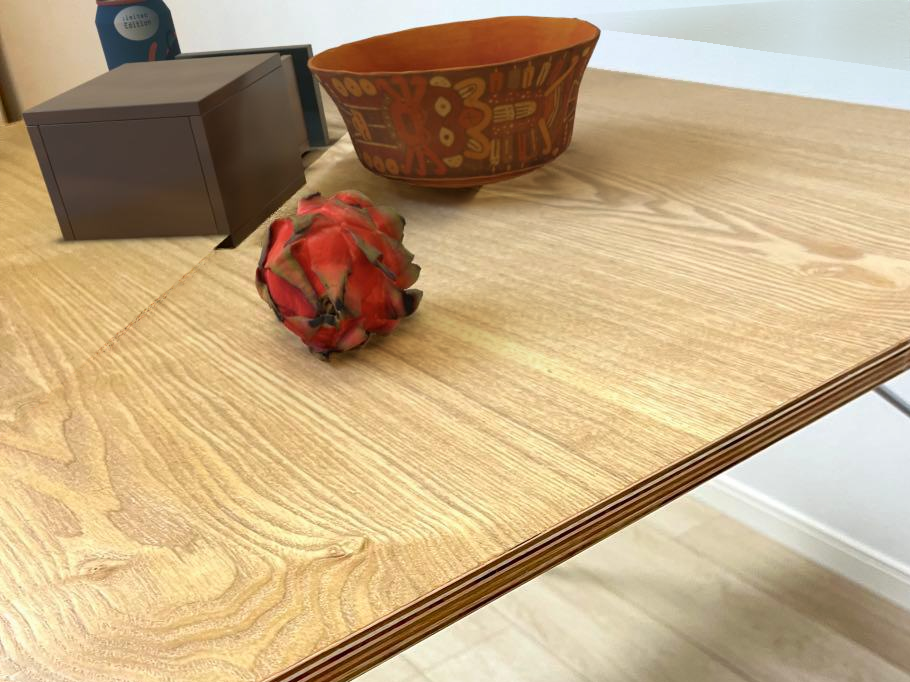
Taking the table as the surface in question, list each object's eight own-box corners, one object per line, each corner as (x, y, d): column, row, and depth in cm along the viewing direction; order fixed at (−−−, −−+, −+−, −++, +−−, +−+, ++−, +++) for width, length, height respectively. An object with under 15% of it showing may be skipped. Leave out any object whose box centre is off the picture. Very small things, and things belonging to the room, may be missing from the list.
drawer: (224, 136, 103) (201, 42, 99) (346, 129, 101) (328, 33, 96) (132, 199, 89) (101, 92, 84) (272, 192, 86) (248, 83, 82)
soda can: (188, 134, 109) (152, -3, 102) (117, 141, 109) (77, 5, 103) (206, 116, 115) (174, -15, 108) (139, 123, 115) (103, -7, 109)
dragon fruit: (378, 316, 70) (367, 432, 61) (246, 254, 67) (214, 367, 58) (443, 202, 66) (441, 310, 57) (305, 130, 62) (279, 232, 53)
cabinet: (160, 189, 94) (124, 63, 88) (307, 183, 91) (279, 52, 86) (68, 254, 82) (20, 112, 76) (234, 248, 79) (197, 101, 74)
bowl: (383, 145, 99) (362, 20, 93) (627, 133, 94) (619, 1, 89) (292, 226, 82) (260, 80, 76) (583, 217, 77) (571, 61, 72)
